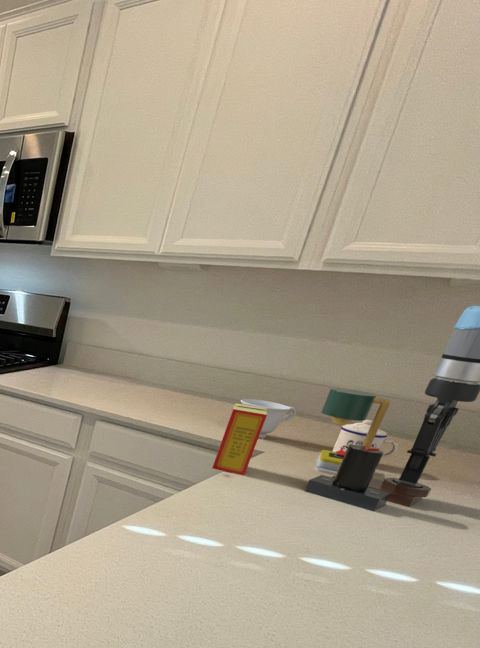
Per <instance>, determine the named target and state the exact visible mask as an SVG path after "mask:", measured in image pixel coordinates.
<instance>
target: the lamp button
mask: <svg viewBox="0 0 480 648" xmlns="http://www.w3.org/2000/svg"><path fill="white" fill-rule="evenodd" d="M394 482H395V483H398V484H401V485H405V486H409V487H415V488H421V487H422V485H420V484H421V483H420V484H418V483H419V482H417V483H416V484H413V483H409V482H405V481H401V480H399V479H395V480H394Z"/></svg>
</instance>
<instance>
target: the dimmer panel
mask: <svg viewBox="0 0 480 648" xmlns="http://www.w3.org/2000/svg"><path fill="white" fill-rule="evenodd" d="M332 477H333V476H329V475H325V474H320V475H318V476H316V477H313V478H310V479H308V483H307V485H306V486H305V489H304V492H305V493H308V494H312V495H316V496H319V497H322V498H326V499H329V500H333V501H336V502H340V503H343V504H346V505H350V506H353V507H357V508H361V509H364V510H366V511H370V512H376V511H377V510H380V509H381V508H383V507H385V506H386V504H387V502H388V501H387V500H388V498H389V496H390V494H391V493H388V492H384V491H380V490H377V489H373V488H369V487H368V488H367V490H366V491H357V490H351V489H347V488H343V487H340V486H338V485H335V484H334V483H333V481H334V478H332Z"/></svg>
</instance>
